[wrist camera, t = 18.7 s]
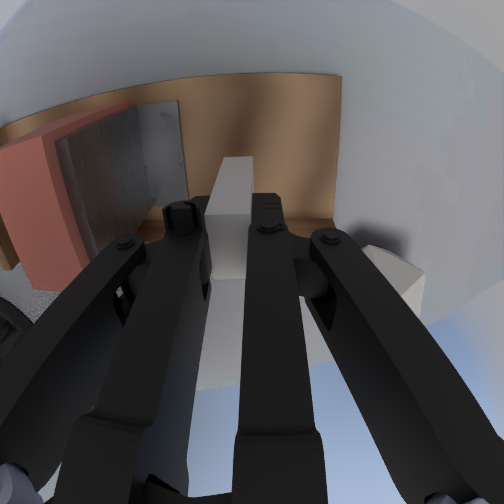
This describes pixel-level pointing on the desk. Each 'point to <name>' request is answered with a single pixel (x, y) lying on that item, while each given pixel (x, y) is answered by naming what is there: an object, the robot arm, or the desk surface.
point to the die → (399, 275)
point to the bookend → (123, 170)
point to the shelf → (235, 139)
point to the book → (44, 202)
